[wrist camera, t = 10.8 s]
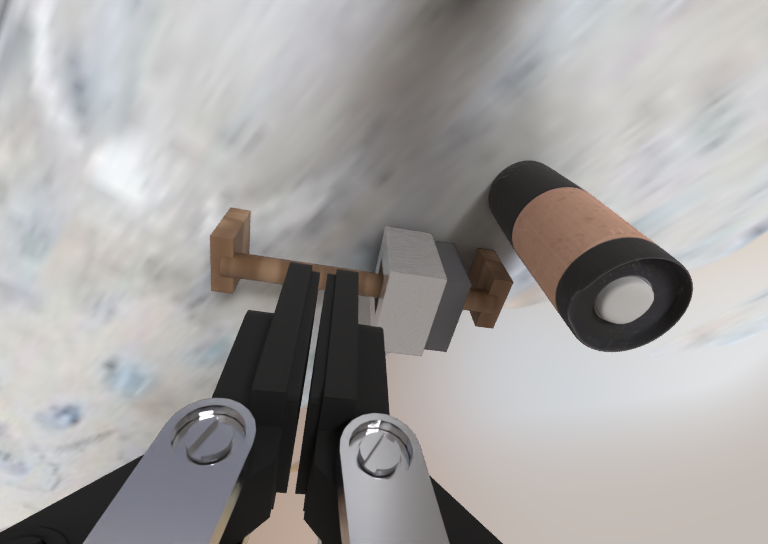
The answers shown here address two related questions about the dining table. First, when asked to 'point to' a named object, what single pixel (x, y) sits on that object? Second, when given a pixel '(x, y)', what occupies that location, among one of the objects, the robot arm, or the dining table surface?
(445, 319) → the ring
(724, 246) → the dining table surface
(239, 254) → the dowel rail
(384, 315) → the sleeve
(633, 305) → the travel mug
